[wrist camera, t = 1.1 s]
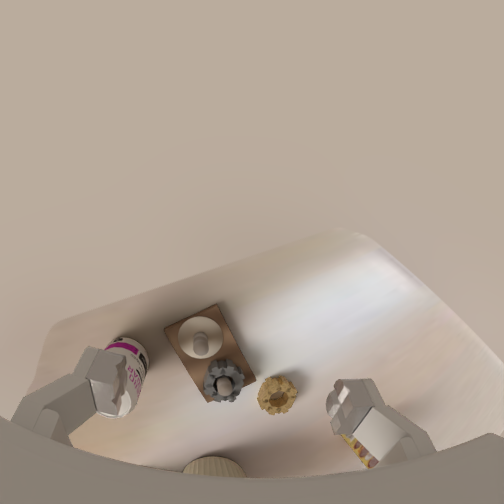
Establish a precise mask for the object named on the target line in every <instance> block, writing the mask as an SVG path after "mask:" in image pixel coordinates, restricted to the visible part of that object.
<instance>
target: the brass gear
mask: <svg viewBox="0 0 504 504" xmlns="http://www.w3.org/2000/svg"><path fill="white" fill-rule="evenodd" d="M265 380H266V382H264V383H262V386H261V388H260V390H259V393H258V396H259V397H258V398H257V400H258V402H259V405H260V407H261V409H262V410H263V409H265V410H266V411H267V412H268V413H269V414H271V415H275V413H281V412H283V414H284V413H286V412H288V409H289V408H291V407H292V404H293V402H294V400H295V398H296V395H295V394H296V393H298V392H297V390H296V388H295V387H294V385H293V384H292V382H288V381H287V380H286V378H285V377H284V376H279V378H276V377H274V378H272V379H271V377H269V378H267V379H265ZM277 391H282V392H284V393H283V395H282V397H280V398H278V399H276V400H272V399H270V397H271V394H273V393H275V392H277Z"/></svg>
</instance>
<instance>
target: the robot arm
mask: <svg viewBox="0 0 504 504" xmlns="http://www.w3.org/2000/svg"><path fill="white" fill-rule="evenodd" d="M126 363H127V361H126V356H125V355H121V354H117V353H113V352H110V351H106V350H102V349H97V348H94V347H90V346H88V347H87V348H86V349H85V350H84V352H83V354H82V356H81V358H80V360H79V362H78V364H77V366H76V368H75V370H74V372H73V373H72V374H67V375H65V376H63V377H61V378H59V379H57V380H56V381H54V382H52V383H50V384H48V385H46V386H44V387H42V388H40V389H39V390H37V391H35V392H33V393H31V394H29V395H27V396H25V397H23V399H22V401H21V402H20V404H19V406H18V408H17V410H16V412H15V414H14V415H13V417H12V419H11V421H9V420H7V419H5V418H2V417H1V416H0V504H504V438H502V437H500V436H498V435H496V434H494V433H487V434H485V435H482V436H480V437H478V438H475V439H473V440H470V441H467V442H465V443H462V444H459V445H457V446H454V447H451V448H448V449H445V450H442V451H439V452H437V451H436V449H435V447H434V445H433V443H432V441H431V440H430V438H429V436H428V434H427V432H426V431H424V430H423V429H421V428H420V427H418V426H417V425H416V424H414V423H413V422H411V421H410V420H408V419H407V418H406V417H404V416H403V415H401V414H400V413H398V412H397V411H396V410H394V409H393V408H391V407H390V406H389V405H388V406H386V405H385V403H384V401H383V399H382V397H381V395H380V393H379V391H378V389H377V387H376V385H375V383H374V381H373V380H372V379H339V380H337V381H336V383H335V384H334V388H335V390H333V391H332V392H331V393H329V395H328V397H327V401H326V410H327V413H328V415H329V416H331V417H332V420H331V422H330V423H331V426H332V429H333V432H334V435H340V434H352V435H353V436H354V437H355V438H356V439H357V440H358V441H359V442H360V443H361V444H362V445H363V446H364V447H365V448H366V449H367V450H368V451H369V452H370V453H371V454H372V455H373V456H374V457H375V458H376V459H377V460H378V461H379V462H378V463H377V464H376V465H375V466H374V467H373V468H370V469H365V470H359V471H352V472H345V473H338V474H329V475H319V476H307V477H290V478H237V477H220V476H208V475H198V474H189V473H181V472H174V471H168V470H162V469H156V468H151V467H145V466H141V465H136V464H131V463H127V462H123V461H119V460H115V459H111V458H107V457H103V456H100V455H96V454H93V453H90V452H86V451H83V450H80V449H77V448H74V447H73V445H72V443H71V441H70V439H69V437H68V435H69V434H70V433H72V432H73V431H74V430H75V429H77V428H78V427H79V426H80V425H82V424H83V423H84V422H85V421H87V420H88V419H89V418H90V417H92V416H93V415H94V414H95V413H96V411H98V412H102V413H106V414H111V415H115V416H118V414H119V411H120V407H121V404H122V400H121V396H123V395H124V394H125V391H126V387H127V378H128V374H127V370H126V369H125V366H126Z"/></svg>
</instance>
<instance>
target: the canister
mask: <svg viewBox="0 0 504 504" xmlns="http://www.w3.org/2000/svg"><path fill="white" fill-rule="evenodd" d="M183 473H189V474H198V475H208V476H220V477H237V478H247V477H246V475H245V473H244V471H243V470H242V468H241V467H240V466H239V465H238V464H236V463H235V462H233V461H232V460H229V459H227V458H223V457H218V456H217V457H214V456H212V457H209V456H208V457H203V458H199V459H196V460H195V461H192V462H191V463H190V464H188V466H186V467H185V469H184V471H183Z"/></svg>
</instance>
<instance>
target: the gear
mask: <svg viewBox="0 0 504 504" xmlns="http://www.w3.org/2000/svg"><path fill="white" fill-rule="evenodd" d="M210 363H211V365H210V366H208V368H207V370H206V373H205V376H204V382H203V391H204V392H205V394H206V395H210V396H211V397H212V398H214V401H217V402H221V400H224V401H226V400H229V402H234V400H235V399H236V396H238V395H239V394H240V391H241V389H242V386H243V384H244V381H243V379H245V377H244V374H243V371H242V369H241V367H240V366H239V367H236V365H235V364H233V361H232V360H229V359H226V361H222V360H221V361H218V362H217V360H214V361H211V362H210ZM222 375H226V376H230V377H232V381H231V385H232V389H233V391H232V393H231V394H230V395H228V396H222V395H220V394H219V393H218V389H217V384H215V383H214V380H215V378H217V377H220V376H222Z"/></svg>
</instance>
